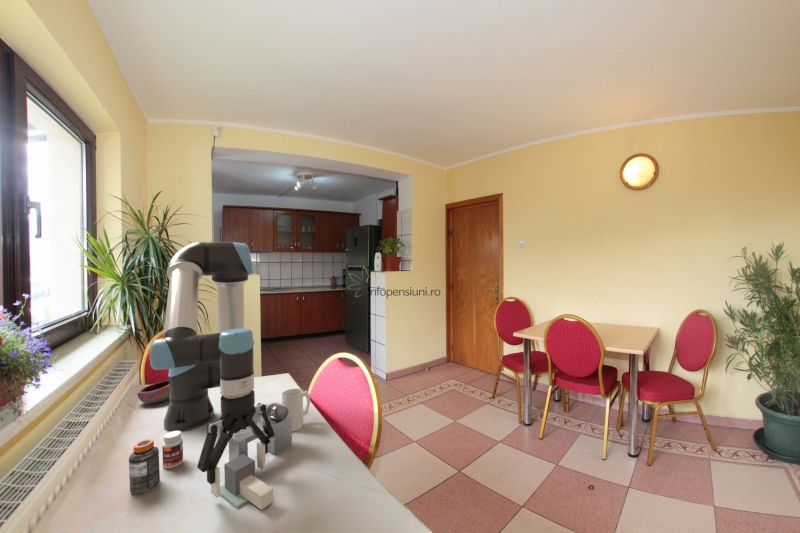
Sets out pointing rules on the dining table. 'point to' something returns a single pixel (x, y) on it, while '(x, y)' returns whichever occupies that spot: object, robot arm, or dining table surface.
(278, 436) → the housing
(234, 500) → the mat
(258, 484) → the plug
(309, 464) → the dining table surface
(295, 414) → the mug
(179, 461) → the pill bottle
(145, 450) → the pill bottle
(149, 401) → the bowl
